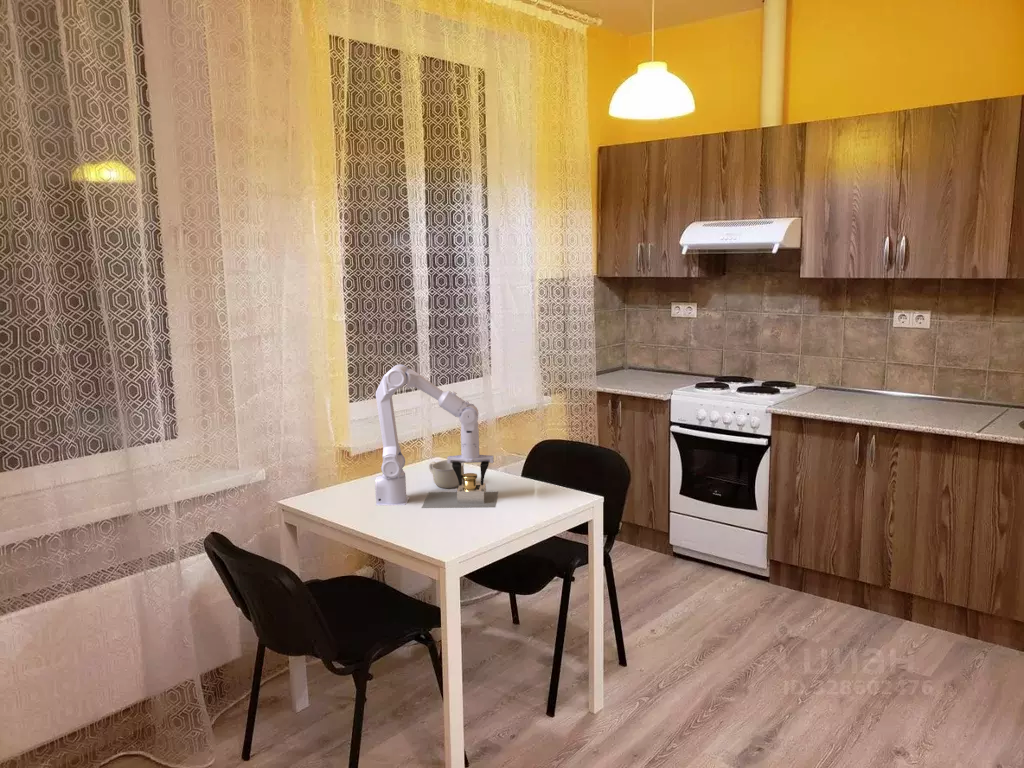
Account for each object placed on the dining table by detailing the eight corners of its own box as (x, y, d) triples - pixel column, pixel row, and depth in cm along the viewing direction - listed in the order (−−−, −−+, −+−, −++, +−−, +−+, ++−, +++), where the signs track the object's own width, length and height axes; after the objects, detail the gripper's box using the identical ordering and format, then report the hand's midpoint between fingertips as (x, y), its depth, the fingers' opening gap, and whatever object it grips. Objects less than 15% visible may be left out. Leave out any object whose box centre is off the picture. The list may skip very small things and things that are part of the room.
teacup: (470, 486, 259) (470, 463, 258) (444, 493, 253) (443, 470, 251) (447, 478, 270) (446, 456, 269) (421, 484, 263) (420, 462, 262)
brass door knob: (461, 502, 242) (460, 477, 240) (463, 497, 246) (462, 473, 245) (477, 501, 241) (476, 477, 240) (478, 496, 246) (478, 473, 245)
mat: (421, 509, 237) (421, 507, 237) (429, 493, 253) (428, 492, 252) (495, 508, 236) (495, 507, 236) (498, 492, 252) (498, 491, 251)
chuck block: (457, 503, 240) (456, 491, 239) (460, 495, 248) (459, 483, 248) (484, 503, 240) (483, 491, 239) (486, 495, 248) (485, 483, 247)
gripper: (445, 446, 237) (447, 488, 239) (492, 445, 237) (493, 488, 239) (448, 441, 244) (449, 481, 246) (493, 440, 244) (494, 481, 246)
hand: (471, 484), depth 243 cm, fingers open, 6 cm apart
